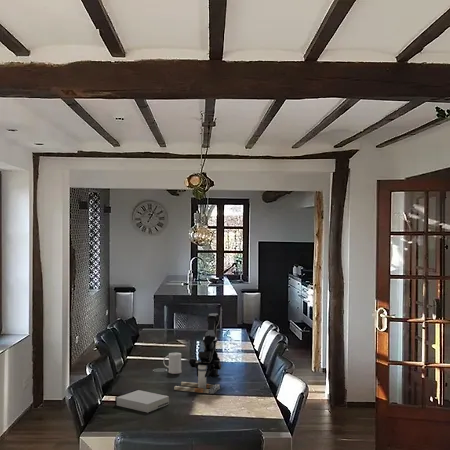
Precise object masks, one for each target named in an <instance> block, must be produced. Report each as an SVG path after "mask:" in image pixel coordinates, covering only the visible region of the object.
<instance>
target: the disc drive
mask: <svg viewBox="0 0 450 450" xmlns="http://www.w3.org/2000/svg"><path fill="white" fill-rule="evenodd" d="M114 398H115V401H114V403H115V404H114V405H115V406H117V407H122V408H127V409H131V410H135V411H138V412H145V413H147V414H149V412H153V411H155V410H157V409H160V408H163V407H165V406H168V405H169V404H170V396H168V395H166V394H165V395H164V394H159V393H155V392H149V391H145V390H139V389H134V390H131V391H129V392H126V393H123V394H120V395H117V396H115V397H114Z"/></svg>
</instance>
